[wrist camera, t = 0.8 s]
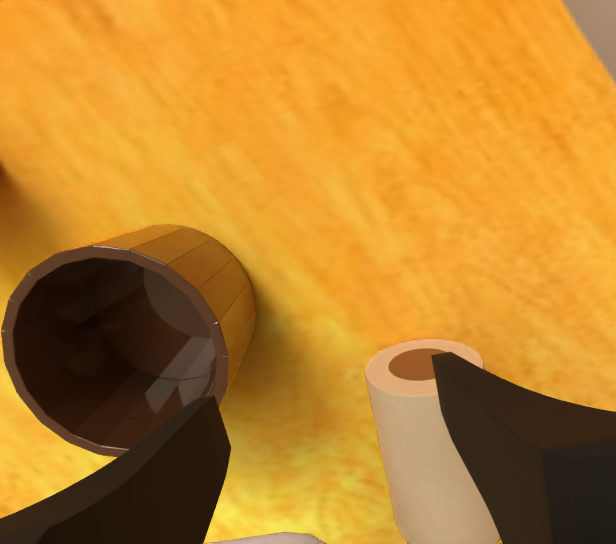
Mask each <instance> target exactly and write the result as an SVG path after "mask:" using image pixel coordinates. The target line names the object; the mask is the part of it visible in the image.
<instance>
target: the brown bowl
mask: <svg viewBox="0 0 616 544" xmlns="http://www.w3.org/2000/svg"><path fill="white" fill-rule="evenodd" d="M255 323H256V301H255V296H254V291H253V288H252V285H251V282H250V280H249V278H248V276H247V274H246V272H245V270H244V268H243V267H242V265H241V264H240V262H239V261H238V260H237V259H236V257H235V256H234V255H233V254H232V253H231V252H230V251H229V250H228V249H227V248H226V247H225V246H224V245H222V244H221V243H219V242H218V241H217V240H215V239H214V238H212V237H210V236H208V235H207V234H205V233H203V232H200V231H197V230H195V229H192V228H188V227H184V226H179V225H170V224H167V225H153V226H147V227H144V228H139V229H135V230H131V231H127V232H124V233H121V234H117V235H114V236H111V237H107V238H104V239H101V240H98V241H94V242H91V243H88V244H84V245H81V246H78V247H74V248H71V249H68V250H64V251H61V252H58V253H56V254H54V255H53V256H51V257H49V258H48V259H46V260H45V261H43V262H42V263H40V264H39V265H37V266H36V267H34V268H32V269H31V270H29V272H27V274H26V275H25V277H24V278H23V279H22V281H21V282H20V284H19V285H18V286H17V288H16V289H15V291H14V292H13V293H12V295H11V296H10V299H9V300H8V304H7V308H6V312H5V316H4V320H3V324H2V328H1V335H2V345H3V355H4V362H5V366H6V368H7V371H8V373H9V375H10V378H11V380H12V382H13V385H14V387H15V389H16V391H17V394H19V397H20V398H21V399H22V400H23V402H24V403H25V404H26V405H27V406H28V408H29V409H30V410H31V411H32V413H33V414H34V415H35V416H36V418H37V419H38V420H39V421H40V422H41V423H42V424H44V425H45V426H46V427H48V428H49V429H50V430H52V431H53V432H54V433H56V434H57V435H59V436H60V437H61V438H63V439H64V440H65V441H67V442H69V443H71V444H73V445H76V446H78V447H81V448H83V449H86V450H88V451H91V452H93V453H96V454H98V455H104V456H112V457H119V456H121V455H122V454H124V453H125V452H127V451H128V450H129V449H131V448H132V447H133V446H135V445H136V444H137V443H139V442H140V441H141V440H143V439H144V438H146V437H147V436H148V435H150V434H151V433H152V432H153V431H155V430H156V429H157V428H159V427H160V426H161V425H162V424H164V423H165V422H166V421H167V420H169V419H170V418H171V417H172V416H174V415H175V414H176V413H177V412H179V411H180V410H181V409H183V408H184V407H185V406H187V405H188V404H189V403H191V402H192V401H194V400H196V399H197V398H202V397H207V396H213V395H215V398H216V401H217V404H218V408H219V407H220V405H221V403H222V401H223V399H224V397H225V395H226V393H227V390H228V388H229V386H230V384H231V382H232V380H233V378H234V375H235V373H236V371H237V369H238V367H239V365H240V363H241V361H242V358H243V356H244V354H245V352H246V349H247V347H248V345H249V343H250V340H251V338H252V336H253V332H254V328H255Z"/></svg>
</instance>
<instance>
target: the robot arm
mask: <svg viewBox="0 0 616 544" xmlns="http://www.w3.org/2000/svg"><path fill="white" fill-rule="evenodd" d="M431 357H432V363H433V369H434V374H435V380H436V386H437V392H438V397H439V403H440V409H441V413H442V416H443V419H444V421H445V424H446V427H447V429H448V432H449V434H450V437H451V440H452V442H453V443H454V445H455V447H456V449H457V451H458V453H459V455H460V457H461V459H462V461H463V463H464V464H465V466H466V468H467V470H468V472H469V474H470V476H471V477H472V479H473V481H474V483H475V485H476V487H477V489H478V491H479V492H480V494H481V496H482V498H483V500H484V502H485V504H486V506H487V508H488V510H489V512H490V514H491V516H492V519H493V521H494V523H495V526H496V528H497V531H498V533H499V536H500V538H501V540H502V543H503V544H616V412H613V411H606V410H601V409H596V408H591V407H586V406H582V405H578V404H574V403H570V402H566V401H562V400H558V399H555V398H551V397H548V396H545V395H542V394H539V393H536V392H534V391H531V390H528V389H525V388H523V387H520V386H518V385H515V384H513V383H511V382H509V381H506V380H504V379H502V378H500V377H498V376H495V375H493V374H491V373H489V372H487V371H486V370H484V369H482V368H480V367H478V366H476V365H474V364H473V363H471V362H469V361H467V360H465V359H464V358H462V357H460V356H458V355H456V354H455V353H453V352H446V353H440V354H435V355H431ZM230 451H231V446H230V442H229V439H228V436H227V433H226V430H225V427H224V423H223V420H222V417H221V414H220V411H219V408H218V404H217V401H216V398H215V395H213V396H207V397H202V398H197V399H196V400H194V401H192V402H191V403H189V404H188V405H187V406H185V407H184V408H183V409H181V410H180V411H179V412H177V413H176V414H175V415H174V416H172V417H171V418H170V419H169V420H167V421H166V422H165V423H164V424H162V425H161V426H160V427H159V428H157V429H156V430H155V431H153V432H152V433H151V434H150V435H148V436H147V437H146V438H144V439H143V440H141V441H140V442H139V443H137V444H136V445H135V446H133V447H132V448H131V449H129V450H128V451H127V452H125V453H124V454H122V455H121V456H119V457H118V458H116V459H115V460H114V461H112V462H110V463H109V464H107V465H106V466H104V467H102V468H101V469H99V470H98V471H96V472H94V473H93V474H91V475H89V476H88V477H86V478H84V479H82V480H80V481H78V482H77V483H75V484H73V485H71V486H69V487H68V488H66V489H64V490H62V491H60V492H58V493H56V494H54V495H52V496H50V497H48V498H46V499H44V500H42V501H40V502H38V503H36V504H33V505H31V506H29V507H27V508H25V509H22V510H20V511H18V512H16V513H13V514H11V515H8V516H6V517H3V518H1V519H0V544H203V542H204V540H205V537H206V534H207V531H208V528H209V525H210V522H211V519H212V516H213V513H214V510H215V507H216V505H217V502H218V499H219V496H220V493H221V490H222V487H223V484H224V480H225V477H226V473H227V468H228V463H229V457H230ZM205 544H326V543H325V542H323V541H321V540H319V539H317V538H316V537H314V536H312V535H310V534H302V533H288V532H282V533H275V534H268V535H261V536H254V537H247V538H240V539H233V540H226V541H219V542H212V543H205Z"/></svg>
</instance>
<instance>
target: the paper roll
mask: <svg viewBox="0 0 616 544" xmlns="http://www.w3.org/2000/svg"><path fill="white" fill-rule="evenodd" d="M446 352H453V353H455V354H456V355H458V356H460V357H462V358H464V359H465V360H467V361H469V362H471V363H473V364H474V365H476V366H478V367H480V368H482V369H484V365H483V360H482V357H481V356H480V354H479V353H478V352H477V351H476V350H475V349H473V348H472V347H470V346H468V345H466V344H463V343H460V342H456V341H452V340H445V339H418V340H411V341H406V342H402V343H398V344H395V345H392V346H390V347H387V348H385V349H383V350H381V351H380V352H378V353H377V354H375V355H374V356H373V357H372V358H371V359H370V360H369V361H368V363H367V365H366V367H365V377H366V382H367V387H368V392H369V397H370V402H371V407H372V411H373V416H374V421H375V426H376V431H377V436H378V441H379V445H380V450H381V455H382V460H383V465H384V470H385V475H386V480H387V484H388V489H389V494H390V499H391V504H392V509H393V514H394V518H395V522H396V526H397V528H398V530H399V532H400V534H401V535H402V537H403V538H404V539H405V540H406V541H407V542H408V543H409V544H496V543H497V542H498V540H499V539H500V536H499V533H498V531H497V528H496V526H495V523H494V521H493V519H492V516H491V514H490V512H489V510H488V508H487V506H486V504H485V502H484V500H483V498H482V496H481V494H480V492H479V491H478V489H477V487H476V485H475V483H474V481H473V479H472V477H471V476H470V474H469V472H468V470H467V468H466V466H465V464H464V463H463V461H462V459H461V457H460V455H459V453H458V451H457V449H456V447H455V445H454V443H453V442H452V440H451V437H450V434H449V432H448V429H447V427H446V424H445V421H444V419H443V416H442V413H441V409H440V403H439V397H438V392H437V386H436V380H435V374H434V369H433V363H432V357H431V355H435V354H440V353H446Z"/></svg>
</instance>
